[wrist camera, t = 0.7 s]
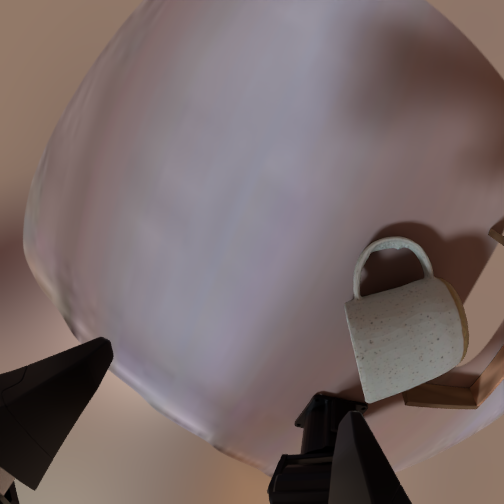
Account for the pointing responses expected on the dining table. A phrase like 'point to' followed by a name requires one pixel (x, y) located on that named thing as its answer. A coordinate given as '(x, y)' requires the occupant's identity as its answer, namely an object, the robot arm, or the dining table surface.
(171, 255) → the dining table surface
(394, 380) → the ceramic mug
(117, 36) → the dining table surface
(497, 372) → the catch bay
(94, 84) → the dining table surface
